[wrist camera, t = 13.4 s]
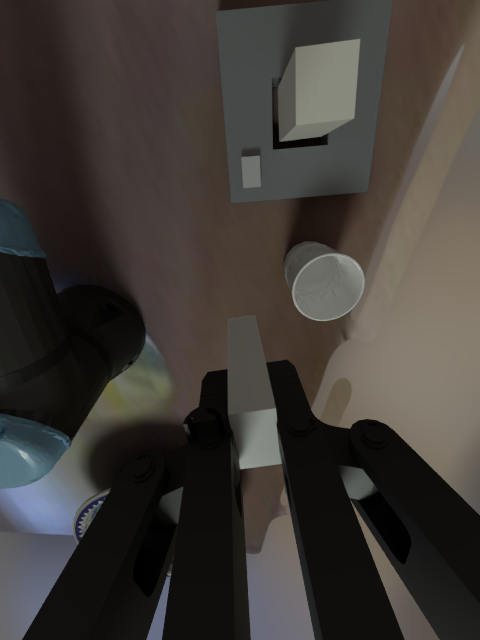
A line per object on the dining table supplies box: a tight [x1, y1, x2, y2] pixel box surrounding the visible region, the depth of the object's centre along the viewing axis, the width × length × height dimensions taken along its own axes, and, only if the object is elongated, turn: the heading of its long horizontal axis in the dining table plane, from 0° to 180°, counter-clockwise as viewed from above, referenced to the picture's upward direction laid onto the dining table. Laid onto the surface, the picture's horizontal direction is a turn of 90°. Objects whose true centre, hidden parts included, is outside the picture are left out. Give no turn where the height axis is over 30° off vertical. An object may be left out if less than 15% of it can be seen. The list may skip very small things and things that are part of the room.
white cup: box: [283, 241, 365, 321], centre depth 34 cm, size 8×8×10 cm
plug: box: [278, 39, 360, 142], centre depth 25 cm, size 4×4×12 cm
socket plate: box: [216, 0, 393, 203], centre depth 28 cm, size 16×16×4 cm
